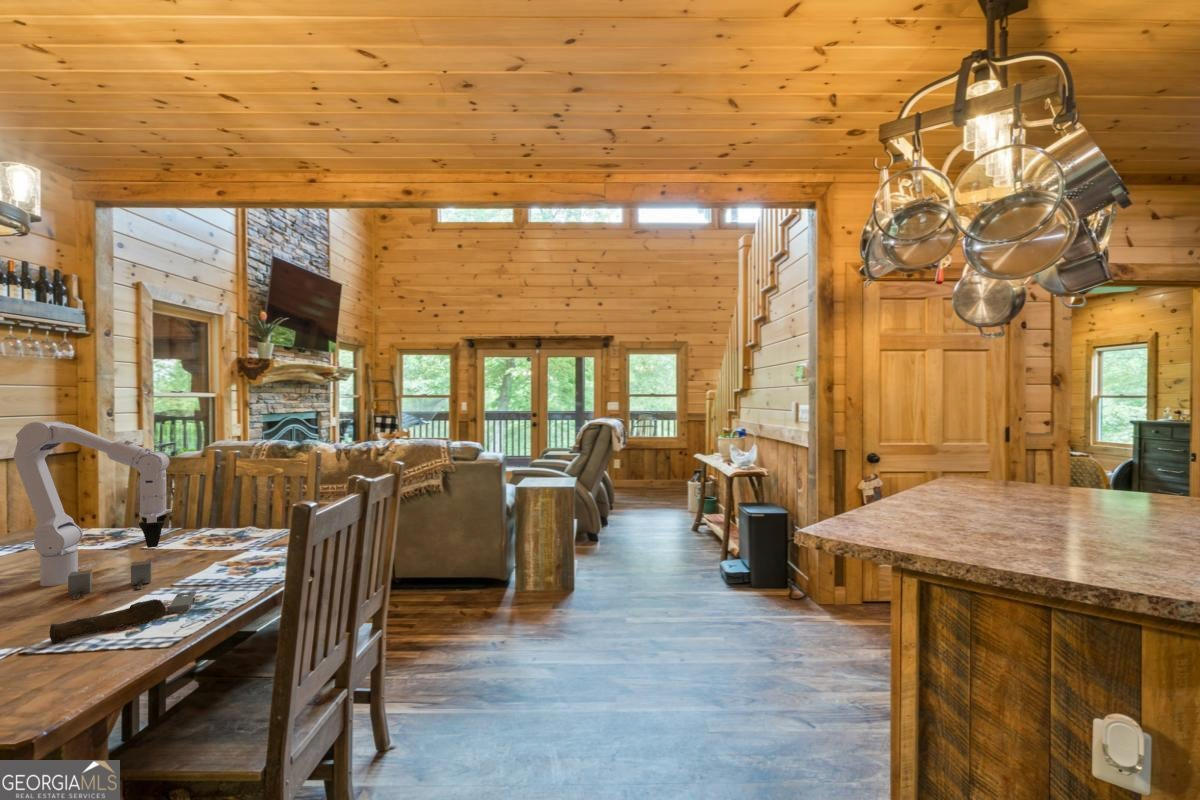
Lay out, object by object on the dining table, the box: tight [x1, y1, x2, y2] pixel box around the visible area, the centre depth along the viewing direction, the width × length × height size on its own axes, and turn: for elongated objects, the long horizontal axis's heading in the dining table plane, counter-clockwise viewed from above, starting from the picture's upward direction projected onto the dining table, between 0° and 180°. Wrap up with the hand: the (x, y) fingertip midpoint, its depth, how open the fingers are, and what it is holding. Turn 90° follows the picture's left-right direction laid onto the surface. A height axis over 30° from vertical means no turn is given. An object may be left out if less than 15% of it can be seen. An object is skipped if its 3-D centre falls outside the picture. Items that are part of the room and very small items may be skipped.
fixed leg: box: [67, 569, 93, 601], centre depth 138 cm, size 8×4×5 cm, turn 36°
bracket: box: [167, 590, 197, 614], centre depth 135 cm, size 4×10×2 cm, turn 28°
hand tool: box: [49, 599, 167, 645], centre depth 120 cm, size 19×4×5 cm, turn 136°
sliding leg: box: [130, 559, 153, 590], centre depth 145 cm, size 8×4×5 cm, turn 36°
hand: (153, 544), depth 155 cm, fingers open, 7 cm apart
